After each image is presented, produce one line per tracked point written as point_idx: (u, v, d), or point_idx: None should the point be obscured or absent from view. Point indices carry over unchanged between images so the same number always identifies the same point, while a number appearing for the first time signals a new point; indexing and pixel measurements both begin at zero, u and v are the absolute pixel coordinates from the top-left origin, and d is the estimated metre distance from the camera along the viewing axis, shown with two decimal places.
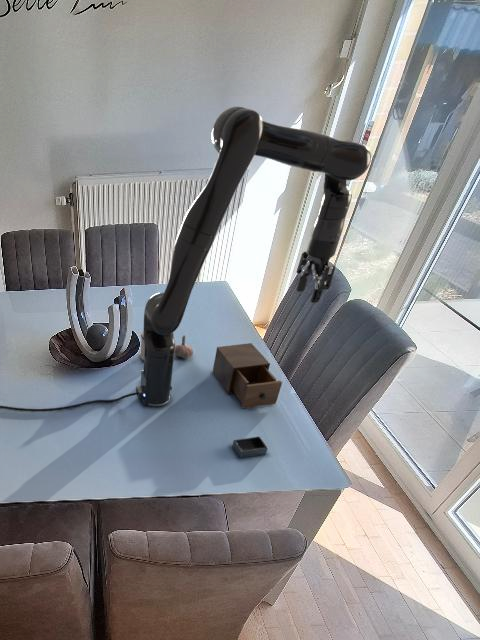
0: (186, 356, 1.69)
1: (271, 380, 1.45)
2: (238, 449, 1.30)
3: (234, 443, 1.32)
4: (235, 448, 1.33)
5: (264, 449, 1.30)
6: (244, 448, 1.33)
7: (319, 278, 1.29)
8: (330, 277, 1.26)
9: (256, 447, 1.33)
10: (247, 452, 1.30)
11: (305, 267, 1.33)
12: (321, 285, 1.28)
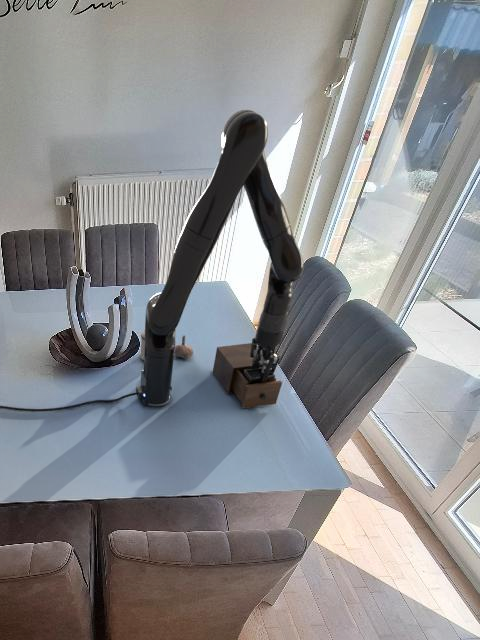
0: (186, 356, 1.69)
1: None
2: (248, 377, 1.43)
3: (244, 372, 1.45)
4: (245, 377, 1.45)
5: (272, 377, 1.43)
6: (253, 377, 1.46)
7: (266, 363, 1.38)
8: (275, 365, 1.35)
9: None
10: (256, 379, 1.42)
11: None
12: (266, 371, 1.37)
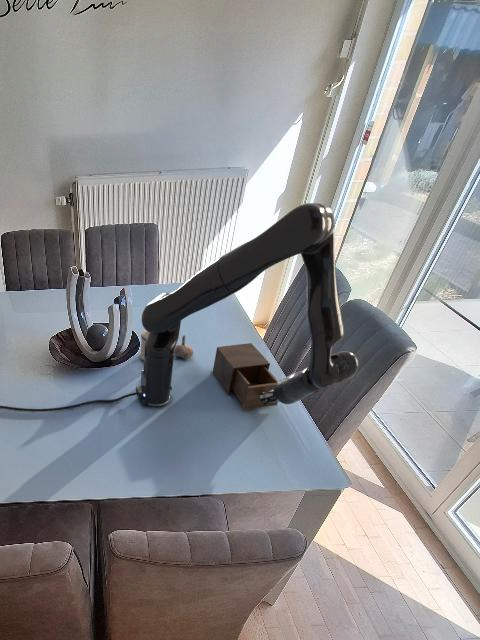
0: (186, 356, 1.69)
1: (272, 381, 1.45)
2: None
3: None
4: None
5: None
6: None
7: None
8: None
9: None
10: None
11: None
12: None
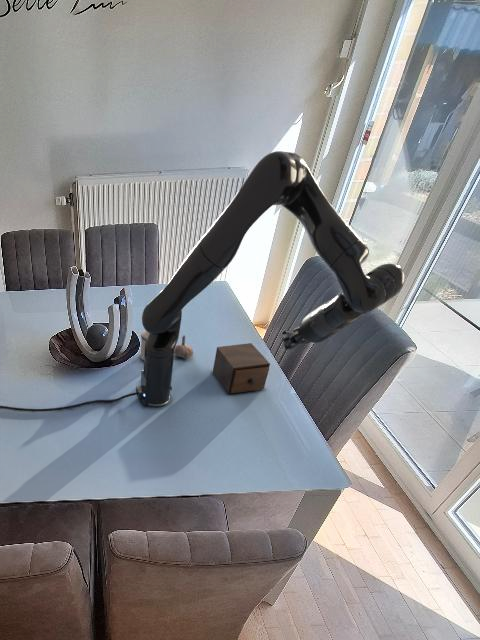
0: (186, 356, 1.69)
1: None
2: None
3: None
4: None
5: None
6: None
7: (294, 336, 1.20)
8: None
9: None
10: None
11: None
12: None
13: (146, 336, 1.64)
